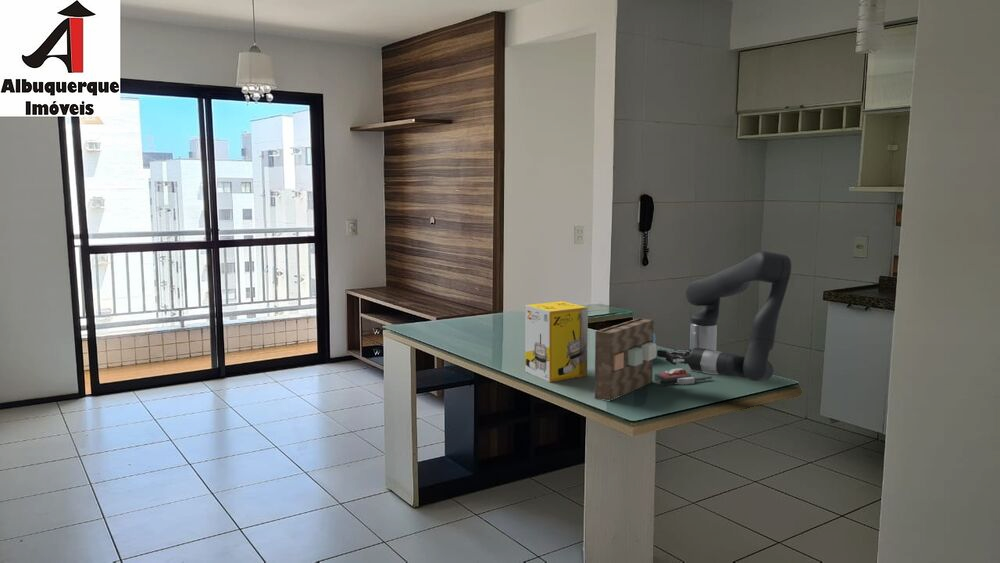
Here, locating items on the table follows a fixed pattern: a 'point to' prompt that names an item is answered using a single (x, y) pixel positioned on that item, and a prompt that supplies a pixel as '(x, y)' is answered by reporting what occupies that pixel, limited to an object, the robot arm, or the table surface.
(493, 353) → the table surface
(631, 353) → the sage key
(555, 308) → the packaging box
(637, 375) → the keypad panel
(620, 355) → the terracotta key
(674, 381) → the walkie-talkie
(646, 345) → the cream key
